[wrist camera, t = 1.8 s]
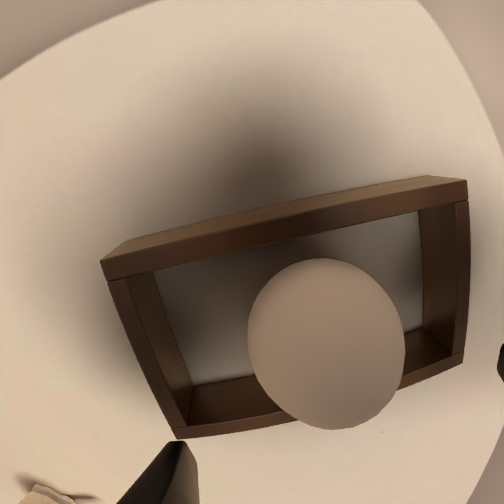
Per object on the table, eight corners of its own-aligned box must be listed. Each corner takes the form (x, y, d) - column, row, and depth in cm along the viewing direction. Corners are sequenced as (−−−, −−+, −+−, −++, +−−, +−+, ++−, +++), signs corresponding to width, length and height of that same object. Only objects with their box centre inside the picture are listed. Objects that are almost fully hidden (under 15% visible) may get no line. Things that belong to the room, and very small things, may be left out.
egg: (249, 234, 13) (267, 312, 6) (368, 245, 14) (472, 314, 7) (239, 346, 15) (244, 474, 8) (346, 349, 15) (408, 458, 8)
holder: (427, 175, 13) (467, 179, 10) (433, 335, 15) (462, 363, 12) (125, 241, 13) (98, 260, 10) (183, 399, 15) (176, 440, 12)
